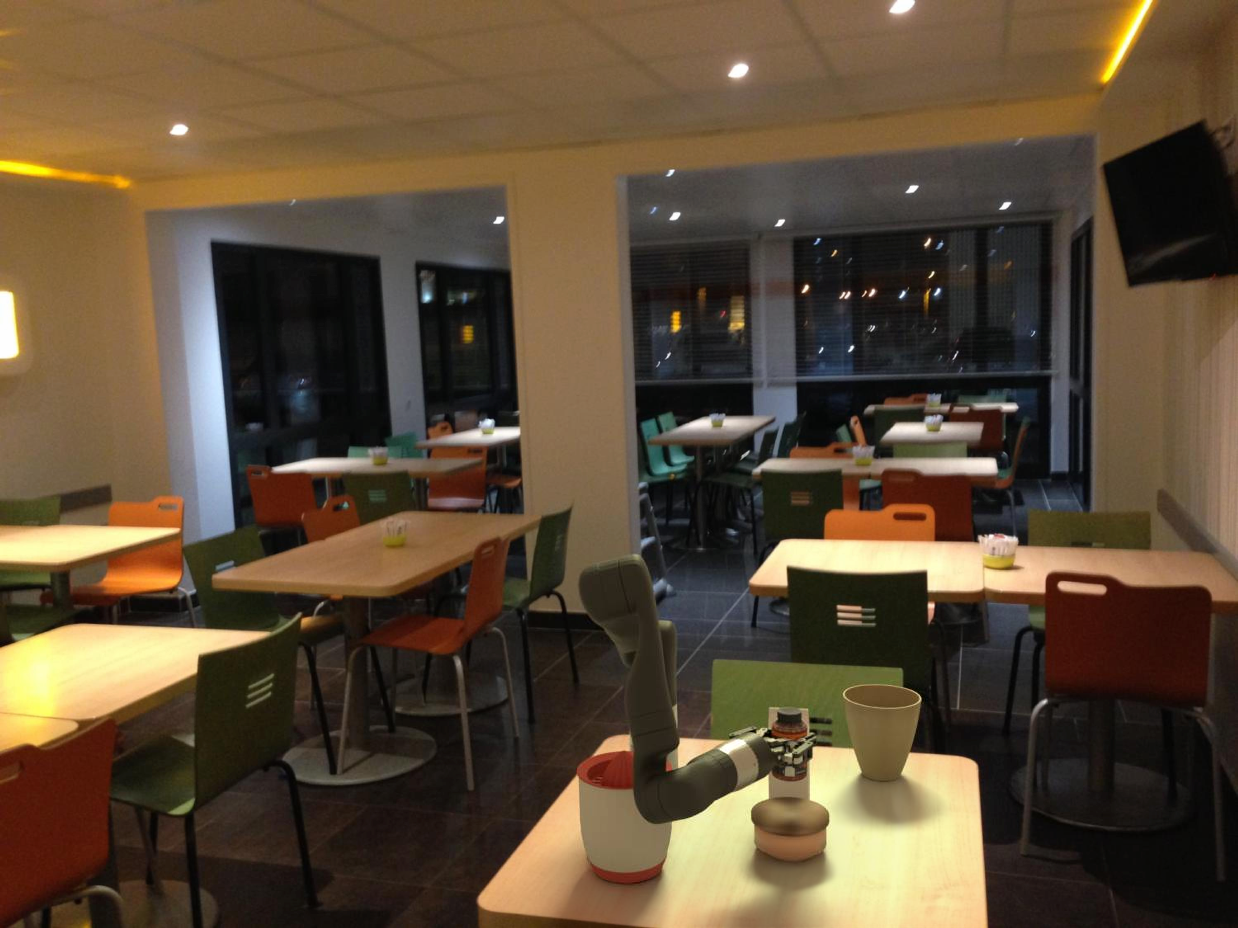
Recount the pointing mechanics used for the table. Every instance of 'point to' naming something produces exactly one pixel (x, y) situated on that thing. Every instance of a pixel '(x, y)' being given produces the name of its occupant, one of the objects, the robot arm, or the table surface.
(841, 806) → the table surface
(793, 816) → the walnut lid
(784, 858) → the terracotta bowl
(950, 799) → the table surface
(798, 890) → the table surface
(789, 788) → the milk carton
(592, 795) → the citrus juicer
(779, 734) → the supplement bottle
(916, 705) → the plant pot
